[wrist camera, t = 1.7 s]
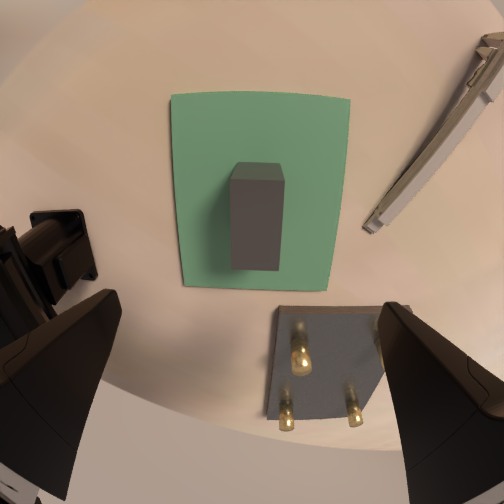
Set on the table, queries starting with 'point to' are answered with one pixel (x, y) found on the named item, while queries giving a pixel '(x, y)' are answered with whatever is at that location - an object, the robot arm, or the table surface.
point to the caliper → (446, 133)
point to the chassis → (324, 363)
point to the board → (266, 140)
